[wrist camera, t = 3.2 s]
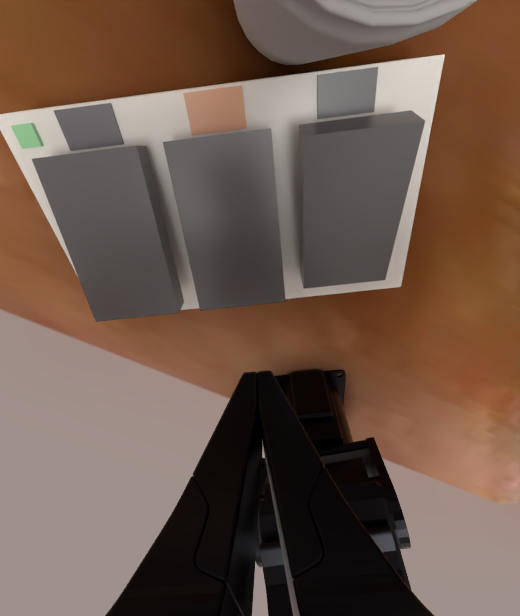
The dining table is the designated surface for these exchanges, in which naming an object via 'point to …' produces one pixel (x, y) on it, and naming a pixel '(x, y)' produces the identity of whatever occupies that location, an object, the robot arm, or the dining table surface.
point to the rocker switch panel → (231, 119)
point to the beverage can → (337, 25)
